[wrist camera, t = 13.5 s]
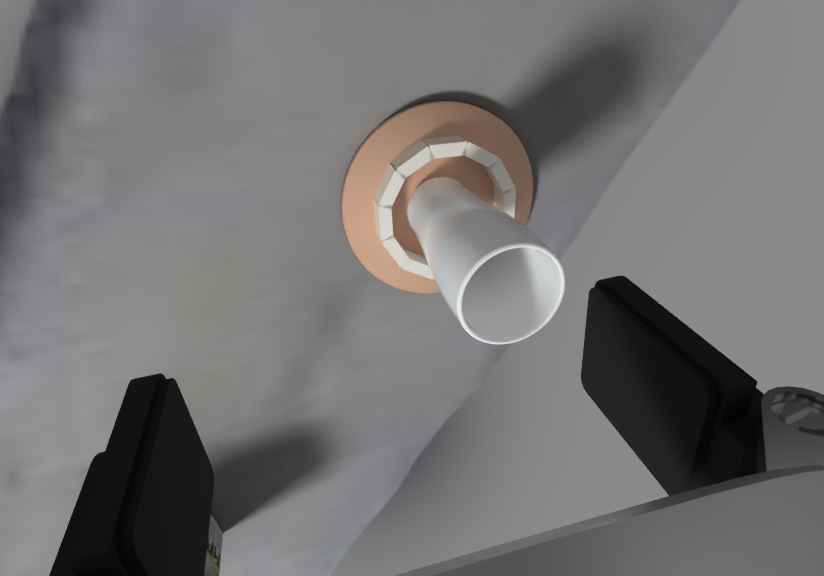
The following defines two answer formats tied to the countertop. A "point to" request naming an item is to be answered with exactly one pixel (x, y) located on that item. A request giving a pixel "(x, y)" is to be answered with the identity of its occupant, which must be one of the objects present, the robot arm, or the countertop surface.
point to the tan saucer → (418, 162)
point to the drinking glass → (485, 262)
